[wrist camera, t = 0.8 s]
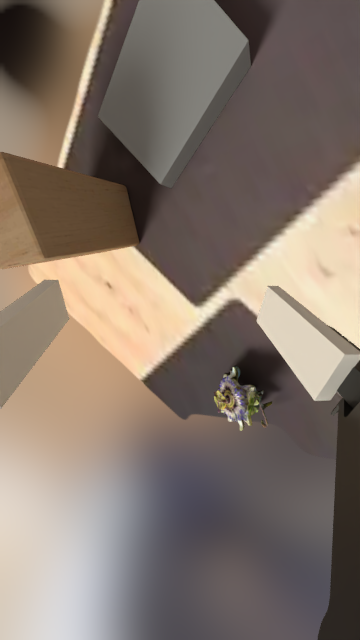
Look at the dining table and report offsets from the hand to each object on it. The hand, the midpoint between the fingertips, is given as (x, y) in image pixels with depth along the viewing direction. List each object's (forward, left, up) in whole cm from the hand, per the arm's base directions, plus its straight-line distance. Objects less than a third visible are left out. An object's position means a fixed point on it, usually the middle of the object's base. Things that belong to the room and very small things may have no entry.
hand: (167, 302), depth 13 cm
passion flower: (+16, +23, -25) cm, 37 cm away
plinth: (-8, -21, -24) cm, 33 cm away
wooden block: (+12, -20, -25) cm, 34 cm away
